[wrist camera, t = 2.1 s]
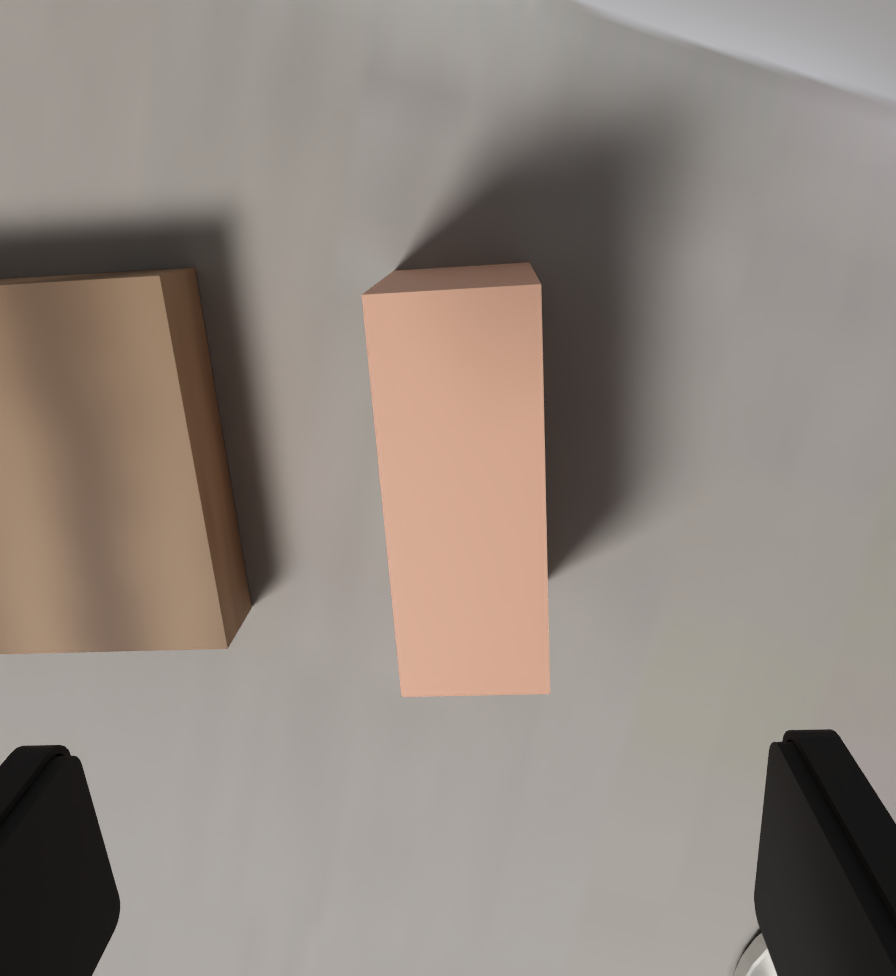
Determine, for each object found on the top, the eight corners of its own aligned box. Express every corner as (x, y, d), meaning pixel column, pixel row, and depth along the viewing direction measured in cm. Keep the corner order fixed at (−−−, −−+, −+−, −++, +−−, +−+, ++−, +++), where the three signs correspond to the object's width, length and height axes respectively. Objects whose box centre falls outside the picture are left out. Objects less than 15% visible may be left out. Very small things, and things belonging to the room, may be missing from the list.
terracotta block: (529, 261, 26) (541, 284, 19) (537, 585, 30) (550, 693, 24) (394, 270, 26) (361, 294, 20) (421, 589, 30) (401, 696, 24)
